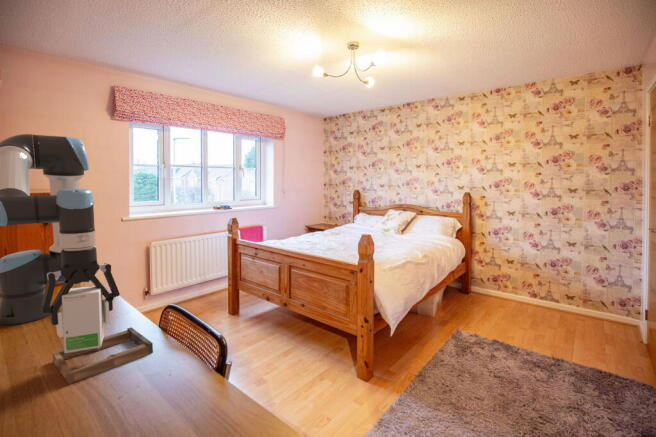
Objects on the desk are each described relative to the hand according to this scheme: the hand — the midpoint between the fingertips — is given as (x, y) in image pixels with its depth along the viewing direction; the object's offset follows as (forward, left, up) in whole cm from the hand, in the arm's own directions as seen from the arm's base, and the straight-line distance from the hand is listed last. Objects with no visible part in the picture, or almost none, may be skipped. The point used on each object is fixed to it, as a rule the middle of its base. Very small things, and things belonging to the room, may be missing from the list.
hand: (84, 328), depth 90 cm
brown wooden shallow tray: (0, +4, -10) cm, 11 cm away
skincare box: (0, 0, -5) cm, 5 cm away
